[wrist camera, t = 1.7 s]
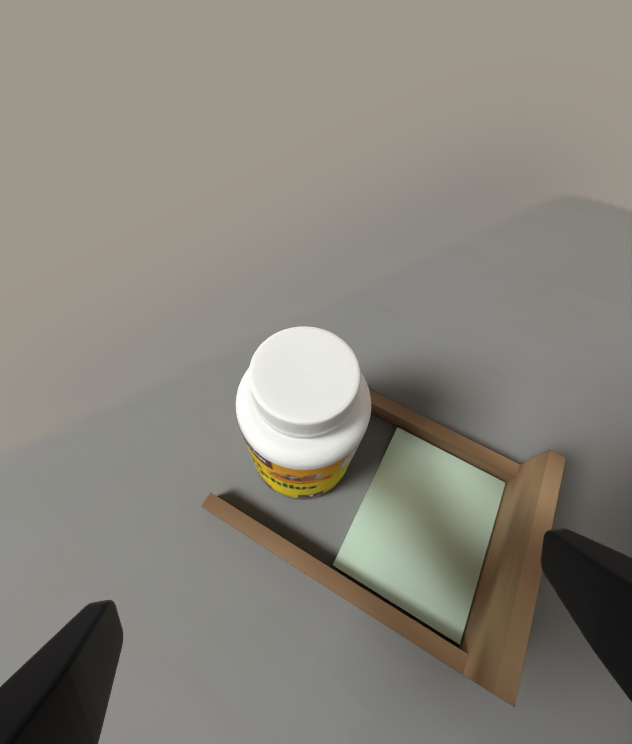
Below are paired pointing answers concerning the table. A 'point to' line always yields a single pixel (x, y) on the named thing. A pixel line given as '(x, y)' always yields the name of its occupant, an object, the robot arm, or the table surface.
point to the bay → (441, 546)
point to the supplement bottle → (303, 411)
